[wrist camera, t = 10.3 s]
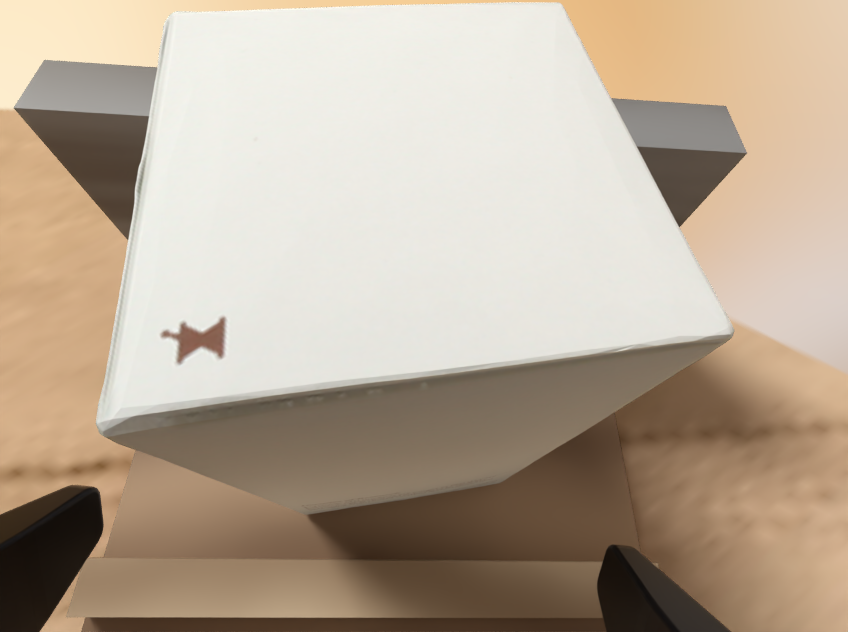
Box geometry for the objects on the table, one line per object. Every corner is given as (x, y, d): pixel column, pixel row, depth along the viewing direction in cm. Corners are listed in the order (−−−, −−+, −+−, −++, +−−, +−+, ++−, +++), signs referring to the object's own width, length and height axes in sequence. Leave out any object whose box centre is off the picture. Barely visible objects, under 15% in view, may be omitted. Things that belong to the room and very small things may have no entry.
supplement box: (507, 486, 16) (770, 356, 5) (299, 518, 15) (48, 448, 4) (468, 308, 19) (573, -11, 8) (295, 326, 19) (149, -7, 7)
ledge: (660, 624, 16) (1004, 727, 7) (77, 624, 15) (-396, 745, 6) (593, 279, 22) (725, 106, 14) (188, 260, 21) (44, 59, 12)
